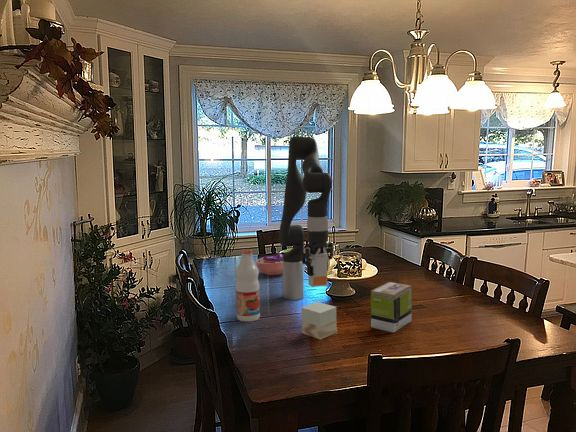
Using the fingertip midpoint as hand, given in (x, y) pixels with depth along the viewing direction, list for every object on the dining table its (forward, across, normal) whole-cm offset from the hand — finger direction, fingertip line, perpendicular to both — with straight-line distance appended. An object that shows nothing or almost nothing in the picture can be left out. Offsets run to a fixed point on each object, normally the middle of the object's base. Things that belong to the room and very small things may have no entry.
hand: (317, 273), depth 175 cm
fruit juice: (+23, +8, -31) cm, 39 cm away
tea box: (+23, -26, +14) cm, 37 cm away
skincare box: (+5, 0, 0) cm, 5 cm away
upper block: (+18, 0, 0) cm, 18 cm away
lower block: (+23, 0, 0) cm, 23 cm away
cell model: (+23, -45, -75) cm, 90 cm away
